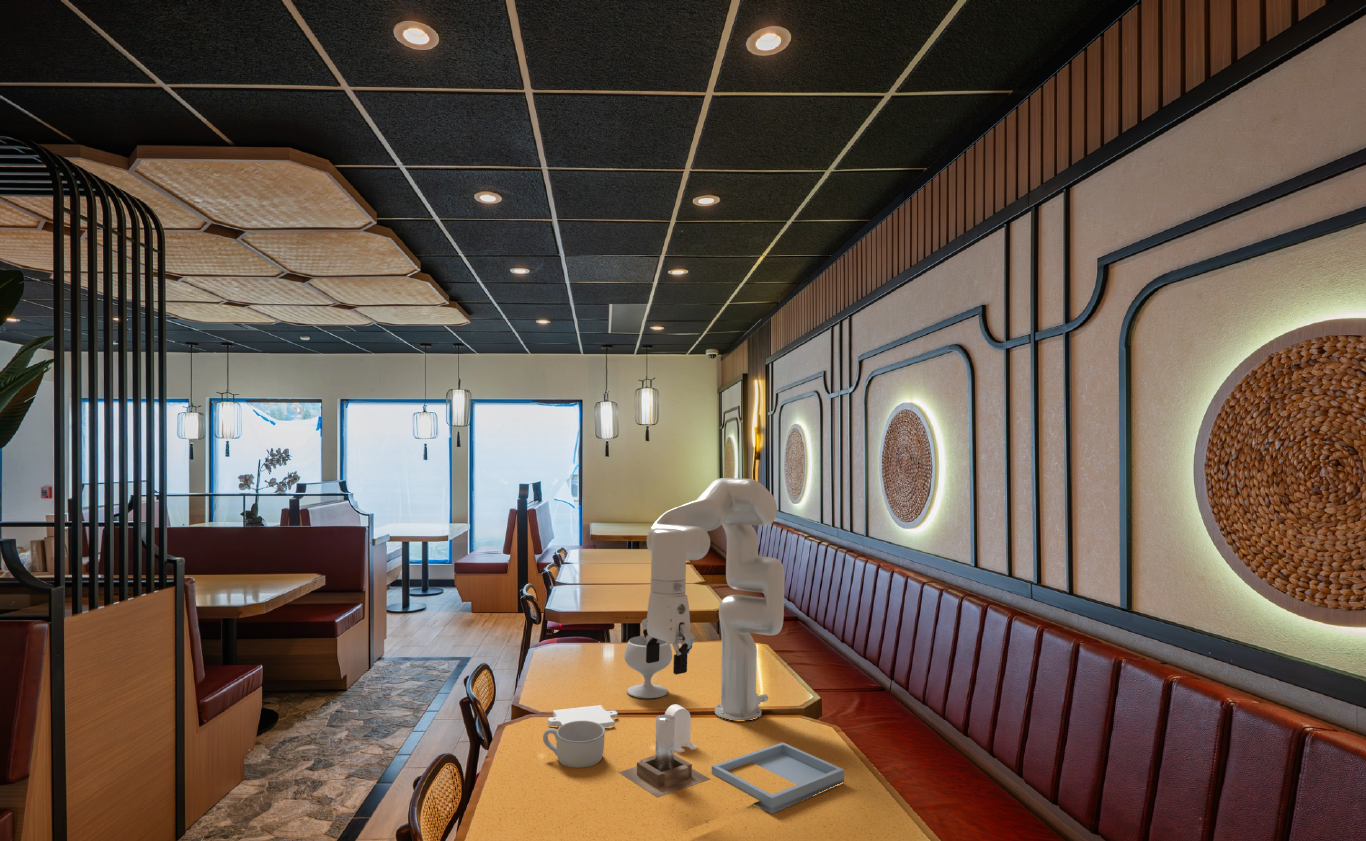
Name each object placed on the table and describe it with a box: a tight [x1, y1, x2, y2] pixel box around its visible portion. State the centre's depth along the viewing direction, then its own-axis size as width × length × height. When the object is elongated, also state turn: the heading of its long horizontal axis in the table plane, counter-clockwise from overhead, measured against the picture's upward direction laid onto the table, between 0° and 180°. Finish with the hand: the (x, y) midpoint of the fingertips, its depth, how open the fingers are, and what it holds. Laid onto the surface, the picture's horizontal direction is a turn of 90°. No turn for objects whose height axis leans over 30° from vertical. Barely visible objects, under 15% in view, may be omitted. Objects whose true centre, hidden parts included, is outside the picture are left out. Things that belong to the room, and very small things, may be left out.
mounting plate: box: [547, 704, 618, 727], centre depth 188 cm, size 18×13×2 cm
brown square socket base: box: [618, 754, 711, 798], centre depth 154 cm, size 14×14×4 cm
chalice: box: [623, 635, 673, 699], centre depth 212 cm, size 14×14×15 cm
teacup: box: [542, 721, 606, 769], centre depth 162 cm, size 14×11×8 cm
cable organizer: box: [664, 704, 698, 754], centre depth 172 cm, size 5×10×10 cm, turn 31°
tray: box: [711, 741, 845, 815], centre depth 156 cm, size 22×18×3 cm
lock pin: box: [654, 714, 675, 772], centre depth 155 cm, size 4×4×12 cm
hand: (666, 667), depth 155 cm, fingers open, 9 cm apart
